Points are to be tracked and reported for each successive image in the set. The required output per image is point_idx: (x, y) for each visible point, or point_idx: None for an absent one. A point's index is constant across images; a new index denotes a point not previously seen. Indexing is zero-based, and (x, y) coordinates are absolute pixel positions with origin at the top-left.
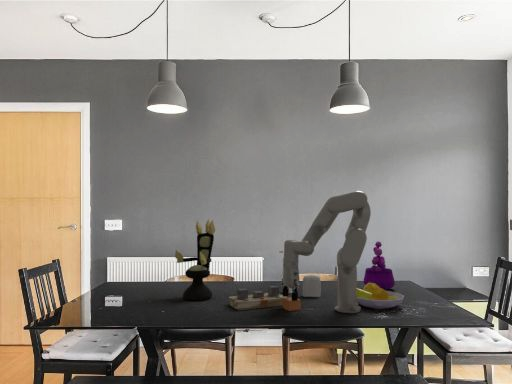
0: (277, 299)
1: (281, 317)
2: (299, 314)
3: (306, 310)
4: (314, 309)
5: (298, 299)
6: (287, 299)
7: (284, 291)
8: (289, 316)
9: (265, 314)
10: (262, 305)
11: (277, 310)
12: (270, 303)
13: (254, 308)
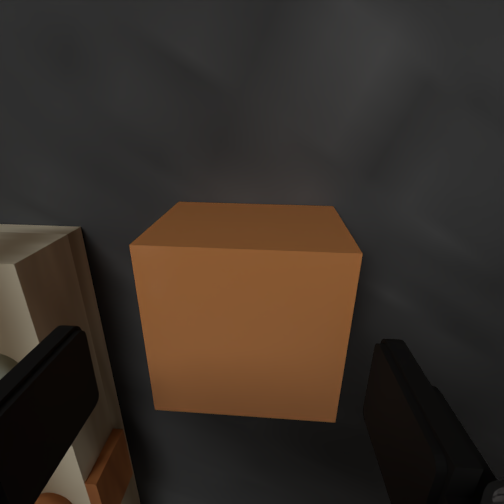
0: None
1: None
2: (481, 313)
3: (398, 158)
4: (424, 12)
5: (327, 277)
6: (246, 400)
7: (51, 456)
8: (470, 408)
9: (310, 496)
10: (127, 469)
11: None
12: (100, 417)
13: (136, 489)
